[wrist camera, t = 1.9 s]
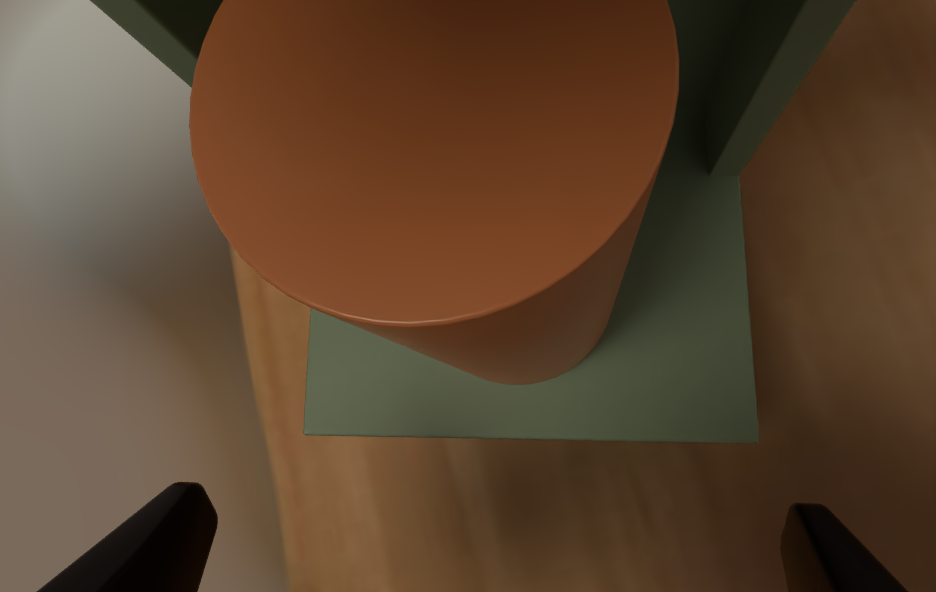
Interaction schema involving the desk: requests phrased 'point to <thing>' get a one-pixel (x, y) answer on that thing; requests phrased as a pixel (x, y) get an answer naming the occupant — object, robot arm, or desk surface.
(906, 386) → the desk surface
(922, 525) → the desk surface
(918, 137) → the desk surface
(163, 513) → the robot arm
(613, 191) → the tea tin
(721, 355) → the green c-shaped stand
